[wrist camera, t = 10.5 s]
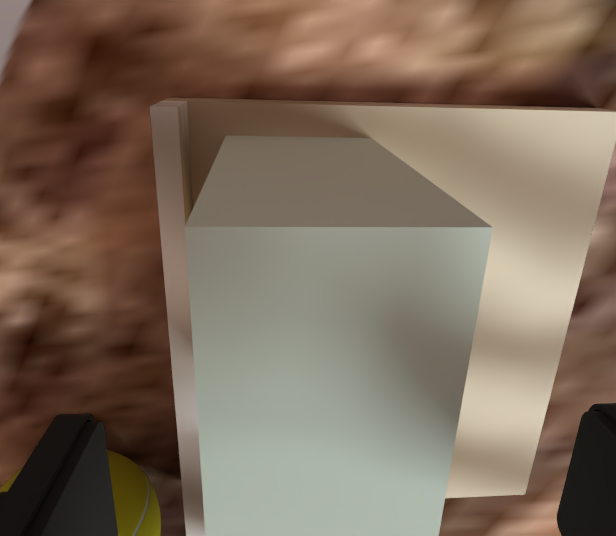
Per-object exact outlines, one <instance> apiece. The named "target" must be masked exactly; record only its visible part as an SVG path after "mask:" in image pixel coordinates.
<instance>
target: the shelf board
mask: <svg viewBox="0 0 616 536" xmlns="http://www.w3.org/2000/svg"><path fill="white" fill-rule="evenodd" d="M149 107H150V119H151V131H152V142H153V154H154V166H155V177H156V189H157V201H158V212H159V224H160V236H161V248H162V259H163V271H164V283H165V294H166V306H167V318H168V329H169V341H170V353H171V365H172V376H173V388H174V400H175V411H176V423H177V435H178V446H179V458H180V470H181V482H182V493H183V505H184V517H185V528H186V536H205V522H204V507H203V492H202V477H201V462H200V447H199V432H198V417H197V402H196V387H195V372H194V357H193V342H192V327H191V312H190V297H189V282H188V267H187V252H186V237H185V225H186V223H187V221H188V219H189V217H190V214H191V212H192V210H193V208H194V205H195V203H196V201H197V199H198V196H199V194H200V192H201V190H202V188H203V185H204V183H205V181H206V179H207V176H208V174H209V172H210V170H211V168H212V165H213V163H214V161H215V159H216V156H217V154H218V152H219V150H220V147H221V145H222V143H223V141H224V139H225V136H226V135H227V136H283V137H339V138H372V139H374V140H375V141H376V142H378V143H379V144H380V145H382V146H383V147H384V148H386V149H387V150H389V151H390V152H391V153H393V154H394V155H395V156H397V157H398V158H399V159H401V160H402V161H403V162H405V163H406V164H408V165H409V166H410V167H412V168H413V169H414V170H416V171H417V172H418V173H420V174H421V175H422V176H424V177H425V178H427V179H428V180H429V181H431V182H432V183H433V184H435V185H436V186H437V187H439V188H440V189H441V190H443V191H444V192H446V193H447V194H448V195H450V196H451V197H452V198H454V199H455V200H456V201H458V202H459V203H460V204H462V205H463V206H464V207H466V208H467V209H469V210H470V211H471V212H473V213H474V214H475V215H477V216H478V217H479V218H481V219H482V220H483V221H485V222H486V223H488V224H489V225H490V226H492V227H493V230H492V235H491V241H490V247H489V252H488V258H487V264H486V269H485V275H484V281H483V286H482V292H481V298H480V303H479V309H478V315H477V320H476V326H475V332H474V337H473V343H472V349H471V354H470V360H469V366H468V371H467V377H466V382H465V388H464V394H463V399H462V405H461V411H460V416H459V422H458V428H457V433H456V439H455V445H454V450H453V456H452V462H451V467H450V473H449V479H448V484H447V490H446V496H445V498H460V497H481V496H502V495H524V494H525V492H526V488H527V484H528V480H529V476H530V472H531V469H532V465H533V461H534V457H535V453H536V449H537V445H538V441H539V437H540V434H541V430H542V426H543V422H544V418H545V414H546V410H547V406H548V402H549V399H550V395H551V391H552V387H553V383H554V379H555V375H556V371H557V367H558V364H559V360H560V356H561V352H562V348H563V344H564V340H565V336H566V332H567V329H568V325H569V321H570V317H571V313H572V309H573V305H574V301H575V297H576V294H577V290H578V286H579V282H580V278H581V274H582V270H583V266H584V262H585V259H586V255H587V251H588V247H589V243H590V239H591V235H592V231H593V227H594V223H595V220H596V216H597V212H598V208H599V204H600V200H601V196H602V192H603V188H604V185H605V181H606V177H607V173H608V169H609V165H610V161H611V157H612V153H613V150H614V146H615V142H616V111H613V110H606V109H600V108H573V107H533V106H493V105H453V104H413V103H373V102H333V101H294V100H254V99H214V98H174V97H169V98H167V99H165V100H163V101H160V102H158V103H156V104H154V105H151V106H149Z"/></svg>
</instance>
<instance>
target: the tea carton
mask: <svg viewBox="0 0 616 536" xmlns="http://www.w3.org/2000/svg"><path fill="white" fill-rule="evenodd" d="M492 230H493V227H492V226H490V225H489V224H488V223H486V222H485V221H483V220H482V219H481V218H479V217H478V216H477V215H475V214H474V213H473V212H471V211H470V210H469V209H467V208H466V207H464V206H463V205H462V204H460V203H459V202H458V201H456V200H455V199H454V198H452V197H451V196H450V195H448V194H447V193H446V192H444V191H443V190H441V189H440V188H439V187H437V186H436V185H435V184H433V183H432V182H431V181H429V180H428V179H427V178H425V177H424V176H422V175H421V174H420V173H418V172H417V171H416V170H414V169H413V168H412V167H410V166H409V165H408V164H406V163H405V162H403V161H402V160H401V159H399V158H398V157H397V156H395V155H394V154H393V153H391V152H390V151H389V150H387V149H386V148H384V147H383V146H382V145H380V144H379V143H378V142H376V141H375V140H374V139H372V138H339V137H283V136H227V135H226V136H225V139H224V141H223V143H222V145H221V147H220V150H219V152H218V154H217V156H216V159H215V161H214V163H213V165H212V168H211V170H210V172H209V174H208V176H207V179H206V181H205V183H204V185H203V188H202V190H201V192H200V194H199V196H198V199H197V201H196V203H195V205H194V208H193V210H192V212H191V214H190V217H189V219H188V221H187V223H186V225H185V237H186V252H187V267H188V282H189V297H190V312H191V327H192V342H193V357H194V372H195V387H196V402H197V417H198V432H199V447H200V462H201V477H202V492H203V507H204V522H205V536H438V535H439V530H440V524H441V518H442V513H443V507H444V501H445V496H446V490H447V484H448V479H449V473H450V467H451V462H452V456H453V450H454V445H455V439H456V433H457V428H458V422H459V416H460V411H461V405H462V399H463V394H464V388H465V382H466V377H467V371H468V366H469V360H470V354H471V349H472V343H473V337H474V332H475V326H476V320H477V315H478V309H479V303H480V298H481V292H482V286H483V281H484V275H485V269H486V264H487V258H488V252H489V247H490V241H491V235H492Z"/></svg>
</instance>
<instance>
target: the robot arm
mask: <svg viewBox="0 0 616 536" xmlns="http://www.w3.org/2000/svg"><path fill="white" fill-rule="evenodd" d="M557 523H558V528H559V530H560V533H561V535H562V536H616V403H611V404H594V405H592V406H591V407H590V409H589V411H588V412H585V413H584V414H583V415H582V418H581V421H580V425H579V429H578V433H577V437H576V441H575V445H574V449H573V453H572V457H571V461H570V465H569V469H568V473H567V477H566V481H565V485H564V489H563V493H562V497H561V501H560V505H559V509H558V513H557ZM0 536H118V528H117V521H116V513H115V505H114V498H113V490H112V483H111V475H110V468H109V460H108V453H107V445H106V438H105V430H104V425H103V423H102V422H94V418H93V416H92V415H91V414H60V415H57V416H56V417H55V419H54V420H53V421H52V423H51V425H50V426H49V428H48V429H47V431H46V432H45V434H44V435H43V437H42V439H41V440H40V442H39V443H38V445H37V446H36V448H35V449H34V451H33V453H32V454H31V456H30V457H29V459H28V460H27V462H26V463H25V465H24V467H23V468H22V470H21V471H20V473H19V474H18V476H17V477H16V479H15V481H14V482H13V484H12V485H11V487H10V488H9V490H8V491H7V492H1V493H0Z"/></svg>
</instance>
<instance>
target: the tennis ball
mask: <svg viewBox="0 0 616 536" xmlns="http://www.w3.org/2000/svg"><path fill="white" fill-rule="evenodd" d="M107 453H108V460H109V468H110V475H111V483H112V490H113V498H114V505H115V513H116V521H117V528H118V536H160V533H161V515H160V508H159V502H158V499H157V495H156V492H155V490H154V487H153V485H152V483H151V481H150V480H149V478H148V477H147V476H146V475H145V473H144V472H143V471H142V470H141V468H140V467H139V466H138V465H137V464H136V463H135V462H133V461H132V460H130V459H129V458H127V457H125V456H123V455H121V454H118V453H116V452H113V451H110V450H107ZM22 468H23V467H22ZM22 468H21V469H20V470H19V471H17V472H16V473H15V474H14V475H13V476H12V477H11V478H10V479H9V480H8V481H7V482H6V483H5V484H4V485H3V486H2V487H1V489H0V493H1V492H7V491H8V490H9V488H10V487H11V485H12V484H13V482H14V481H15V479H16V477H17V476H18V474H19V473H20V471H21V470H22Z"/></svg>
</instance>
